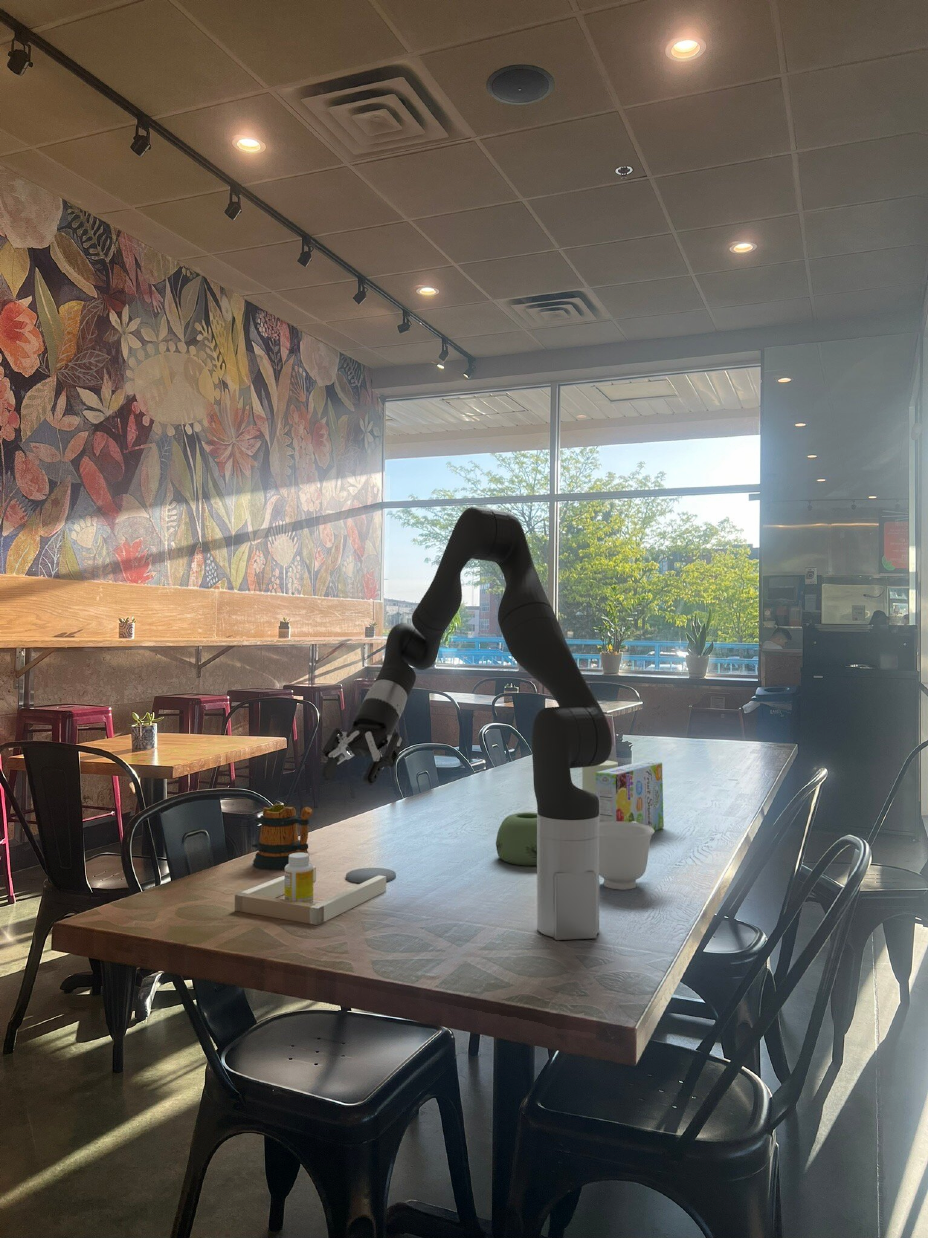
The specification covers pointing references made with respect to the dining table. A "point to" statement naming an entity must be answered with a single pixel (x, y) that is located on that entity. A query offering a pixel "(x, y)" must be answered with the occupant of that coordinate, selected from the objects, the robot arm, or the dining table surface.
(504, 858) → the mug
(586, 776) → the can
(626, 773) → the snack box
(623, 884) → the teacup
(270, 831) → the mug
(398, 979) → the dining table surface
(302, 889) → the supplement bottle
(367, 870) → the coaster
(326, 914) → the beige frame
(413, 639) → the robot arm
